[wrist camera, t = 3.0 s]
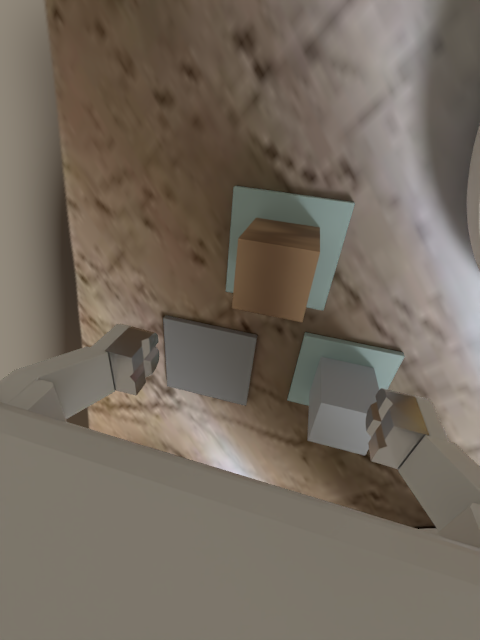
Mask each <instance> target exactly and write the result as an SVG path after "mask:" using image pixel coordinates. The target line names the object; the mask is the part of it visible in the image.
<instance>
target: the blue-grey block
mask: <svg viewBox="0 0 480 640" xmlns="http://www.w3.org/2000/svg"><path fill="white" fill-rule="evenodd" d="M378 391H379V386H378V382H377V378H376V374H375V370H374V368H371V367H367V366H362V365H358V364H353V363H348V362H344V361H339V360H335V359H330V358H325V357H321V358H320V361H319V364H318V367H317V370H316V373H315V377H314V380H313V383H312V386H311V389H310V392H309V415H308V441H311V442H315V443H319V444H322V445H326V446H330V447H334V448H338V449H342V450H345V451H349V452H353V453H357V454H361V455H366V453H367V451H368V450H369V445H368V442H369V441H370V439H371V437H370V435H369V434H368V433H367V432H366V415H367V411H368V409H369V407H370V405H371V404H373V403H375V402H377V401H376V394H377V392H378Z"/></svg>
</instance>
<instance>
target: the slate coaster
mask: <svg viewBox="0 0 480 640" xmlns="http://www.w3.org/2000/svg"><path fill="white" fill-rule="evenodd" d="M163 323H164V339H165V356H166V372H167V386H169V387H173V388H177V389H181V390H185V391H189V392H193V393H197V394H201V395H205V396H209V397H213V398H217V399H221V400H225V401H229V402H233V403H237V404H241V405H245V406H246V404H247V399H248V392H249V386H250V380H251V373H252V367H253V360H254V354H255V348H256V341H257V335H255V334H251V333H246V332H241V331H237V330H232V329H227V328H223V327H218V326H213V325H209V324H204V323H199V322H195V321H190V320H185V319H181V318H176V317H171V316H165V317H164V318H163Z"/></svg>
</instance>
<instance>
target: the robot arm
mask: <svg viewBox="0 0 480 640" xmlns="http://www.w3.org/2000/svg"><path fill="white" fill-rule="evenodd" d="M157 343H158V335H157V334H156V333H154V332H151V331H147V330H143V329H139V328H136V327H131V326H127V325H124V324H116V325H115V326H114V327H113V328H112V329H111V330H110V331H109V332H107V333H106V334H105V335H104V336H103V337H102V338H101V339H100V340H98V341H97V342H96V343H95V344H94V345H93V346H92V347H91V348H90V347H84V348H81V349H78V350H75V351H72V352H69V353H66V354H63V355H60V356H57V357H54V358H50V359H48V360H44V361H41V362H38V363H35V364H32V365H29V366H26V367H23V368H20V369H17V370H14V371H12V372H11V373H10V374H8V375H7V376H6V377H4V378H3V379H2V380H1V381H0V640H480V466H478V465H477V464H476V463H475V462H474V461H473V460H472V459H471V458H470V457H469V456H468V455H467V454H466V453H465V452H464V451H463V450H461V449H460V448H459V447H458V446H457V445H456V444H455V443H453V442H450V441H449V440H448V438H447V435H446V433H445V431H444V428H443V426H442V424H441V421H440V419H439V417H438V414H437V412H436V410H435V407H434V405H433V403H432V401H431V400H430V399H427V398H422V397H418V396H412V395H408V394H404V393H399V392H395V391H391V390H387V389H383V388H381V389H380V390H379V391H378V392H377V394H376V401H377V402H375V403H373V404H371V405H370V407H369V409H368V411H367V415H366V432H367V433H368V434H369V435H370V437H371V439H370V441H369V442H368V445H369V451H370V457H371V461H372V462H376V463H379V464H382V465H385V466H389V467H392V468H395V469H398V472H399V473H400V475H401V476H402V478H403V479H404V480H405V482H406V483H407V485H408V486H409V488H410V489H411V491H412V492H413V494H414V495H415V497H416V498H417V500H418V501H419V503H420V504H421V506H422V507H423V509H424V510H425V512H426V513H427V515H428V516H429V518H430V519H431V520H432V522H433V523H434V525H435V526H436V528H425V529H416V528H413V527H410V526H406V525H403V524H400V523H397V522H393V521H390V520H387V519H383V518H380V517H377V516H374V515H370V514H367V513H364V512H360V511H357V510H354V509H351V508H347V507H344V506H341V505H337V504H334V503H331V502H327V501H324V500H321V499H318V498H314V497H311V496H308V495H304V494H301V493H298V492H294V491H291V490H288V489H285V488H281V487H278V486H275V485H271V484H268V483H265V482H261V481H258V480H255V479H252V478H248V477H245V476H242V475H239V474H235V473H232V472H229V471H225V470H222V469H219V468H216V467H212V466H209V465H206V464H203V463H199V462H196V461H193V460H189V459H186V458H183V457H180V456H176V455H173V454H170V453H166V452H163V451H160V450H157V449H153V448H150V447H147V446H143V445H140V444H137V443H134V442H130V441H127V440H124V439H120V438H117V437H114V436H111V435H107V434H104V433H101V432H98V431H94V430H91V429H88V428H84V427H81V426H78V425H75V424H71V423H68V422H67V421H66V419H67V418H69V417H71V416H72V415H74V414H76V413H78V412H79V411H81V410H83V409H85V408H86V407H88V406H90V405H92V404H94V403H95V402H97V401H99V400H101V399H102V398H104V397H106V396H108V395H109V394H111V393H113V392H115V390H116V391H120V392H124V393H129V394H133V395H137V394H138V393H139V391H140V390H141V389H142V387H143V386H144V384H145V383H146V379H145V377H147V376H149V375H151V374H152V373H153V372H154V370H155V369H156V367H157V364H158V361H159V350H158V349H157V348H156V344H157Z"/></svg>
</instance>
